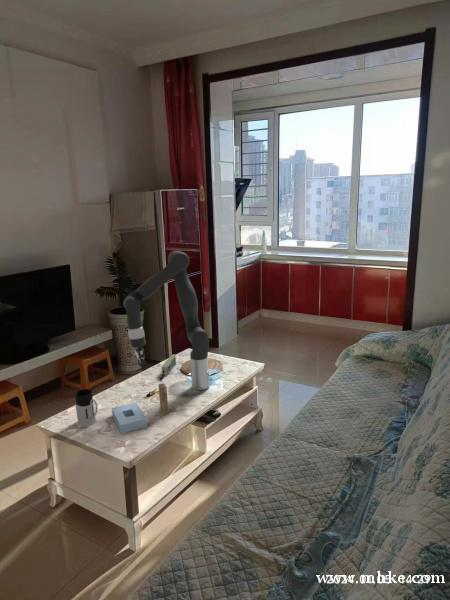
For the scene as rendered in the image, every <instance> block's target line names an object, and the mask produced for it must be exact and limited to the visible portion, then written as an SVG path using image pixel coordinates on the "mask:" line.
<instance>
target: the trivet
mask: <svg viewBox="0 0 450 600" xmlns="http://www.w3.org/2000/svg"><path fill="white" fill-rule="evenodd" d="M208 369H217V371H218V370H221V371H222V370H223V362H222V361H220V360H219V359H216V358H212V357H208ZM180 370H181V372H182V373H183V374H184V375H187V374H189V373H191V359H189V360H187V361H184V362H183V363H182V364H181V367H180ZM187 376H188V375H187Z"/></svg>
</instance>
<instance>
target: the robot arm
mask: <svg viewBox="0 0 450 600" xmlns="http://www.w3.org/2000/svg"><path fill="white" fill-rule="evenodd" d="M167 263H168V264H167V265H166V266H164V267H163V268H162V269H161V270H160V271H158V272H156V273H155V274H153V275H152V276H150V277H149V278H148V279H146V280H145V281H144V282H143V283H142V284H141V285H140V286H138V287H137V288H136V289H135V290H133V291H132V292H131V293H129V294H128V295H127V296H126V297H125V298H124V299H123V307H124V308H125V312H126V323H127V329H128V333H127V334H128V340H129V344H130V347H131V348H133V349H134V352H135V356H136V359H137V363H138V364H137V365H138V366H139V367H140V369H141V371H146V370H147V367H146V361H147V360H146V358H145V357H146V355H145V350H144V348H143V347H144V346H146V344H147V341H146V337H145V330H144V327H143V322H142V317H141V316H142V315H141V305H140V304H141V303H142V302H143V301H146V300H147V299H149V298H150V297H151V296H152V295H153V294H154V293H156V292H157V290H159V289H160V288H161V287H162V286H164V284H166V283H167V282H169V280H171V279H172V278H173V280H174V285H175V289H176V294H177V298H178V302H179V306H180V309H181V313H182V316H183V318H184V323H185V329H186V335H187V336H186V337H187V339H188V341H189V342H190V343H191V348H192V349H191V352H189V353H190V354H189V357H190V359H189V360H191V388H192V389H193V390H195V391H204V390H208V389H210V376H209V372H208V358H209V356H208V355H209V354H208V353H209V351H210V350H209V349H210V348H209V344H210V343H209V342H210V341H209V335H208V332H206V331H205V330H204V329H203V328H202V325H201V324H200V320H199V315H198V314H199V313H198V312H199V311H198V310H199V303H198V298H197V293H196V290H195V288H194V286H193V284H192V282H191V280H190V278H189V276H188V273H187V268H188V266H189V265H190V257H189V256H188V255H187V253H185V252H183V251H180V250H173V251H170V252H169V254H168V257H167Z"/></svg>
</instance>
